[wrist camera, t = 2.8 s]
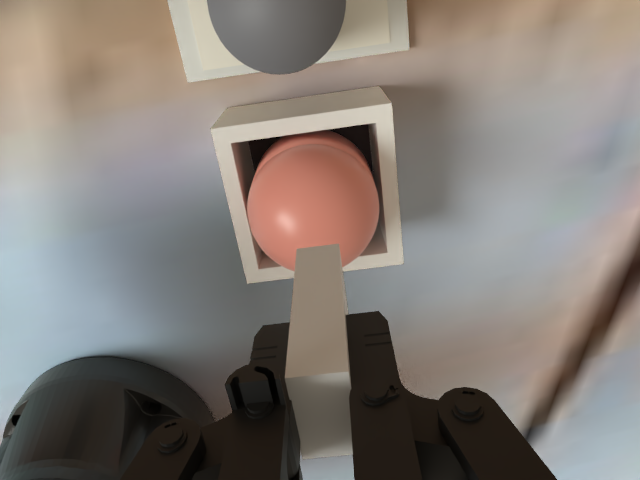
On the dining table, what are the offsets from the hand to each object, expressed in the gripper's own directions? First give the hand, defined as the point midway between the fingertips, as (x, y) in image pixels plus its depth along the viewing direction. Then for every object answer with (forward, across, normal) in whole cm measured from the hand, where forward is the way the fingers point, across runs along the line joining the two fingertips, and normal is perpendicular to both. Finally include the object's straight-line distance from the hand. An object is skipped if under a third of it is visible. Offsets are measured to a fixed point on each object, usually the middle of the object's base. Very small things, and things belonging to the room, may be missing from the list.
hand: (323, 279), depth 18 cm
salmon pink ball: (+10, 0, 0) cm, 10 cm away
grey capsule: (+13, 0, +9) cm, 15 cm away
